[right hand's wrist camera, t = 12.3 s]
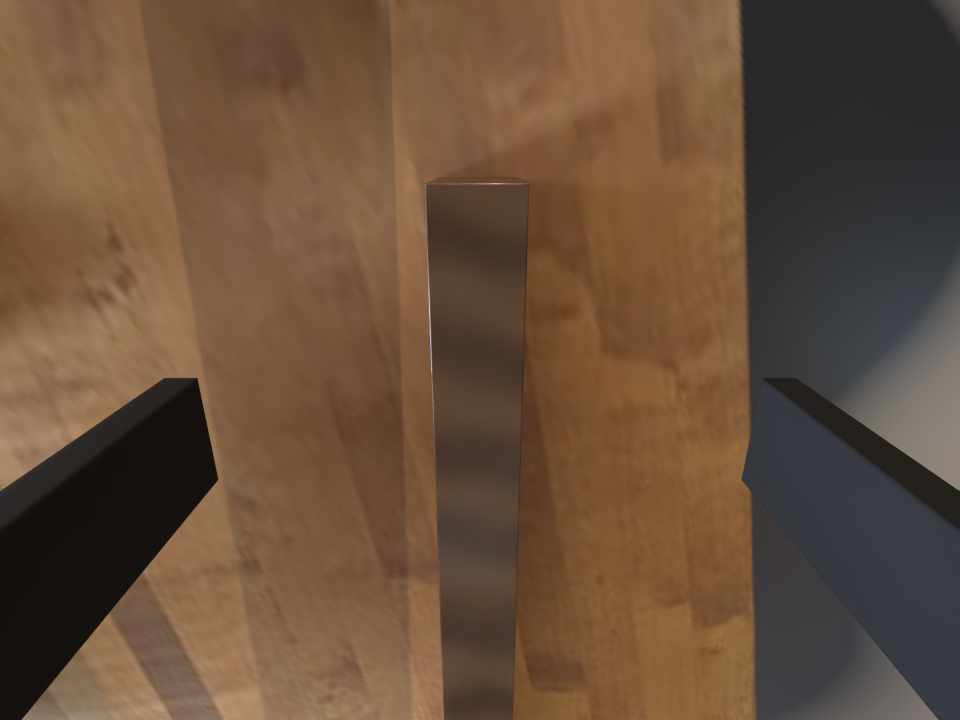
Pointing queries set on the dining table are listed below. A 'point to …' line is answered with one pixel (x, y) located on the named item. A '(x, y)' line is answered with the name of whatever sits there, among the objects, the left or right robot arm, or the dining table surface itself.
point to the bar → (477, 430)
